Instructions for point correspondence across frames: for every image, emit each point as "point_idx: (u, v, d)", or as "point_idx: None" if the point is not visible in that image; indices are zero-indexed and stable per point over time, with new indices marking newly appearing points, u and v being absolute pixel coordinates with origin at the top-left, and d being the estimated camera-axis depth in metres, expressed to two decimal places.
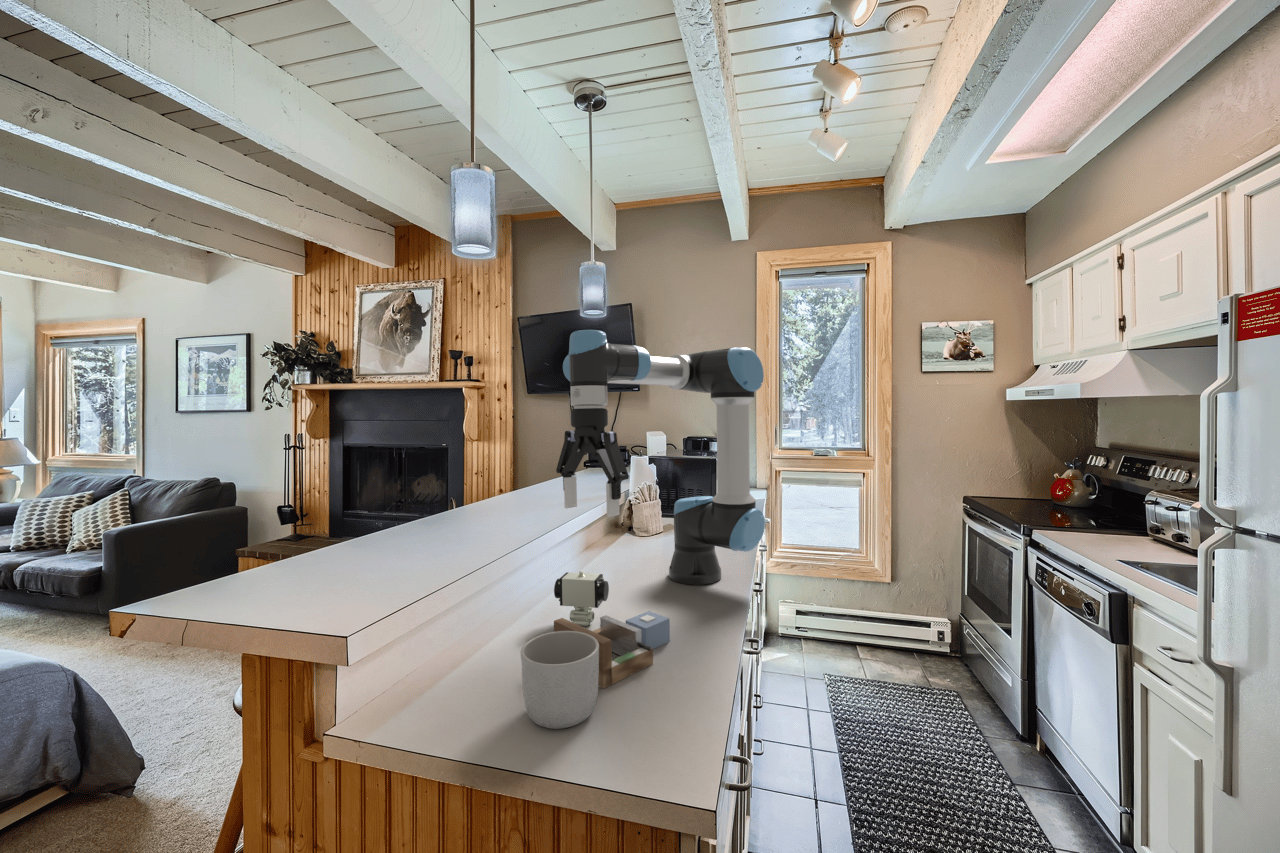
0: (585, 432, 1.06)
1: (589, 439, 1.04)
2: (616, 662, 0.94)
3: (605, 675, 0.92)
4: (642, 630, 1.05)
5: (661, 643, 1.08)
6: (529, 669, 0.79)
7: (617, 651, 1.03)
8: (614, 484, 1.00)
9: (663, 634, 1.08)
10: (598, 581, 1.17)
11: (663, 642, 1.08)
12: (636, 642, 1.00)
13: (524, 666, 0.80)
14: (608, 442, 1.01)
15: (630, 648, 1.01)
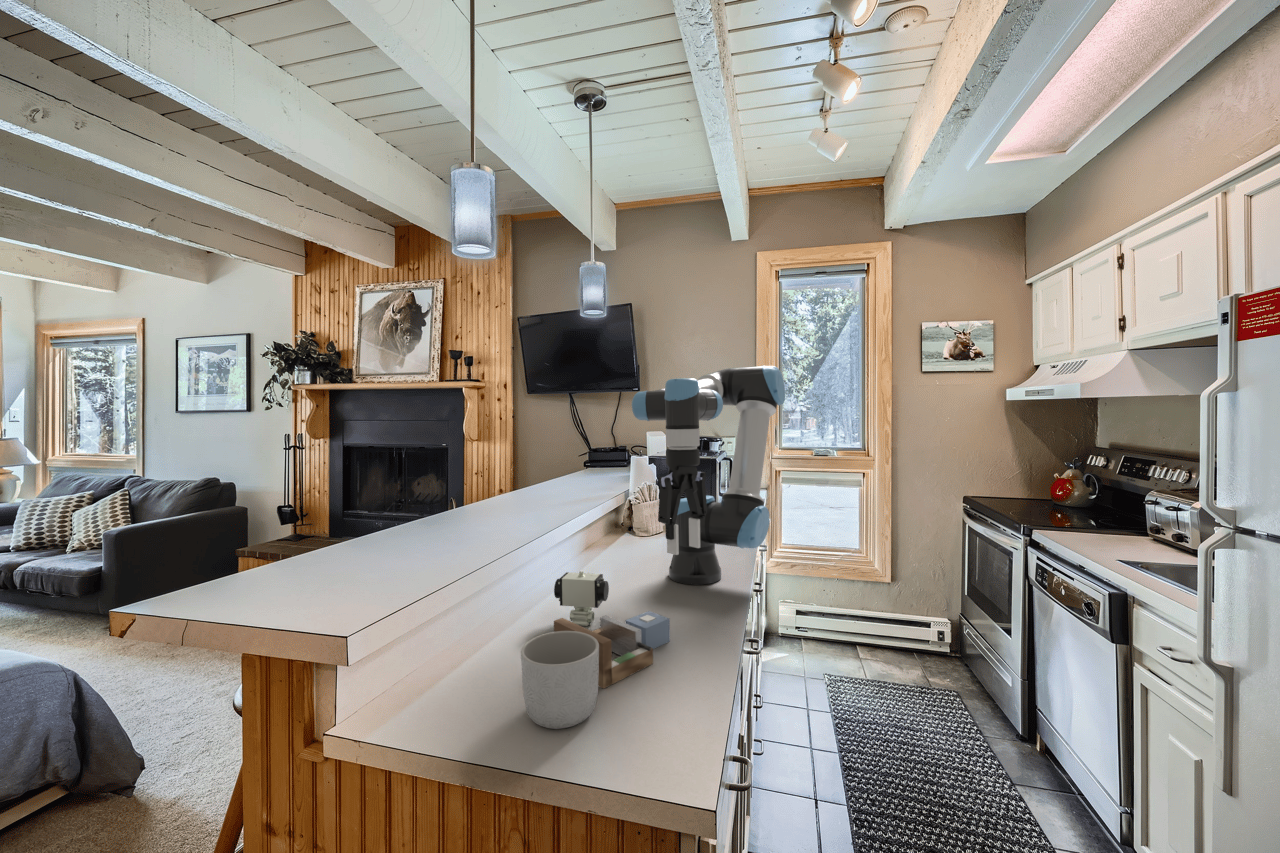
0: None
1: None
2: (616, 662, 0.94)
3: (605, 675, 0.92)
4: (642, 630, 1.05)
5: (661, 643, 1.08)
6: (529, 669, 0.79)
7: (617, 651, 1.03)
8: None
9: (663, 634, 1.08)
10: (598, 581, 1.17)
11: (663, 642, 1.08)
12: (636, 642, 1.00)
13: (525, 666, 0.80)
14: (660, 487, 1.13)
15: (630, 648, 1.01)
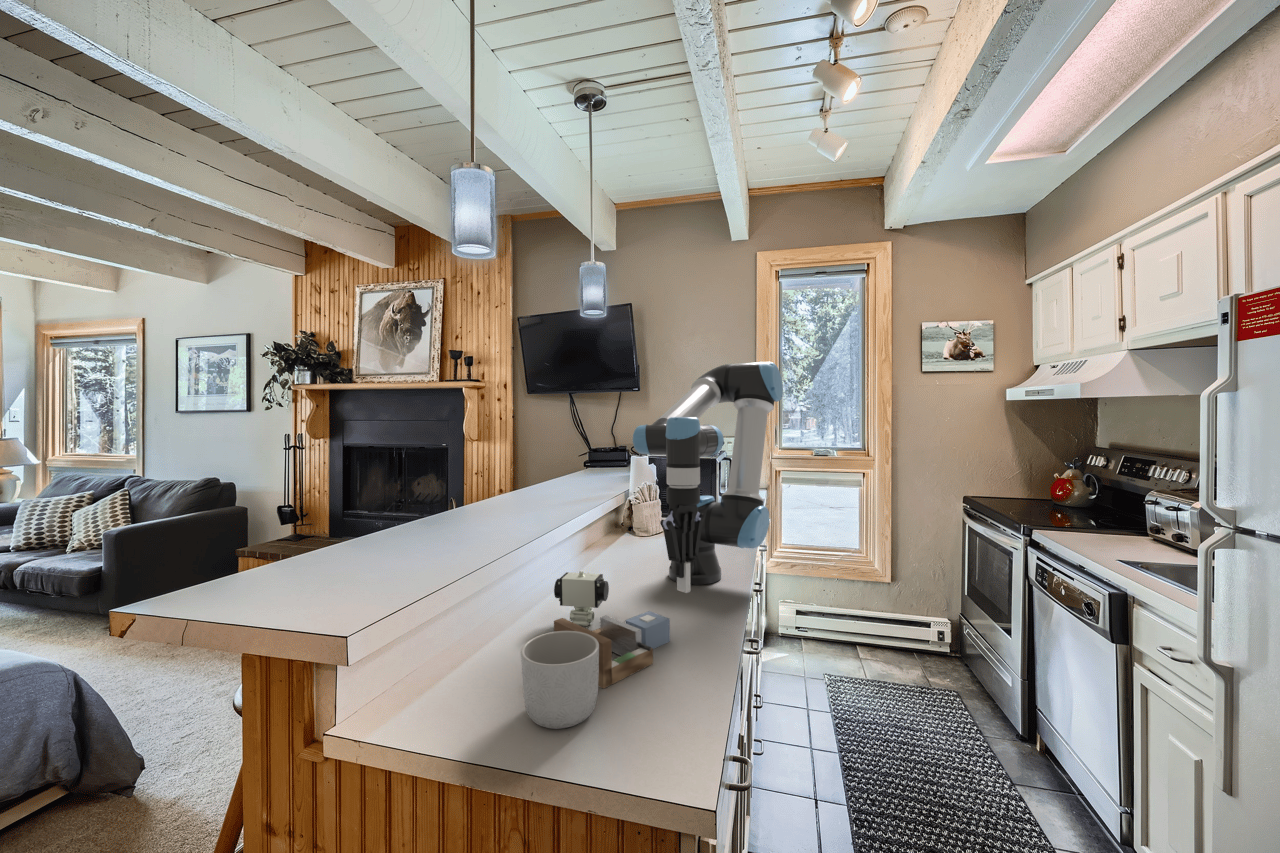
0: None
1: None
2: (616, 662, 0.94)
3: (605, 675, 0.92)
4: (642, 630, 1.05)
5: (661, 643, 1.08)
6: (529, 669, 0.79)
7: (617, 651, 1.03)
8: None
9: (663, 634, 1.08)
10: (598, 581, 1.17)
11: (663, 642, 1.08)
12: (636, 642, 1.00)
13: (525, 666, 0.80)
14: (663, 529, 1.14)
15: (630, 648, 1.01)
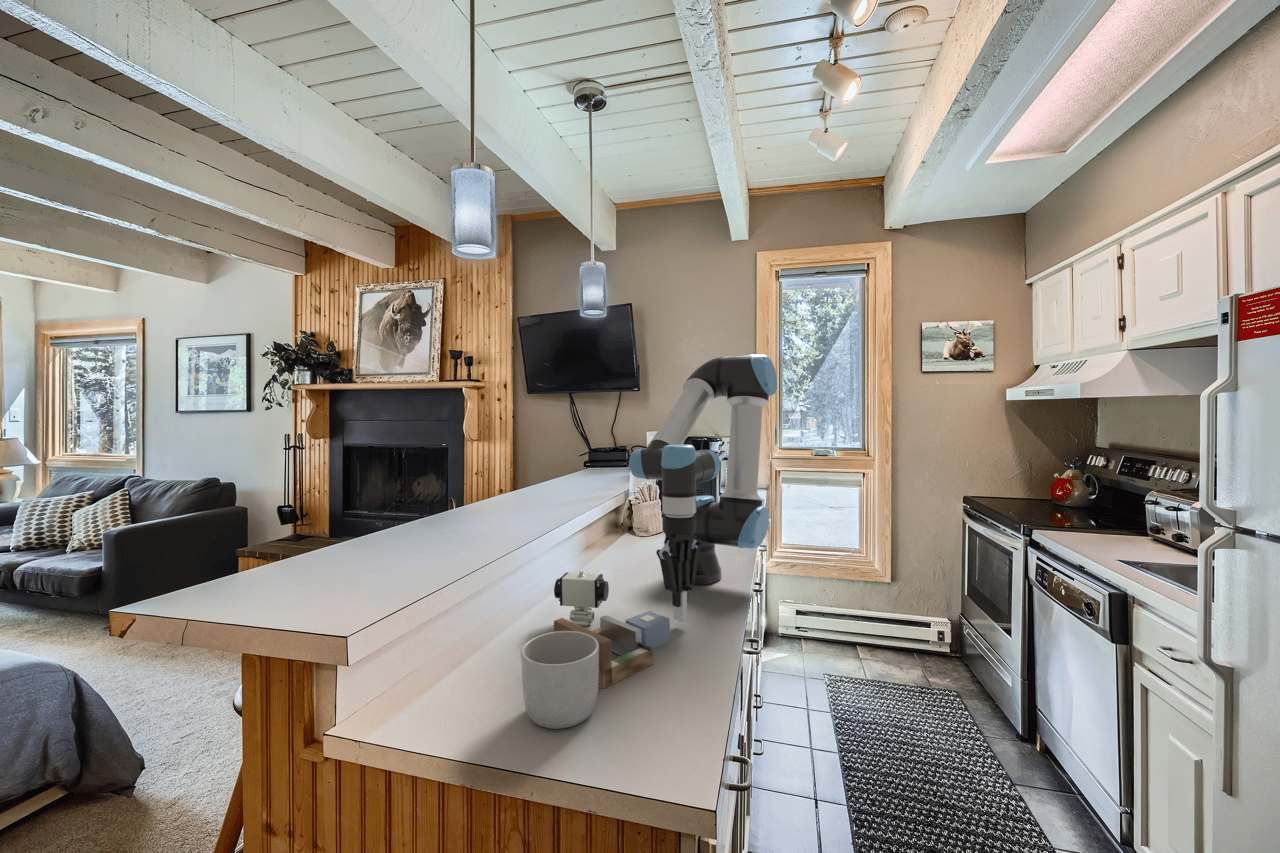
0: None
1: None
2: (616, 662, 0.94)
3: (605, 675, 0.92)
4: (641, 630, 1.05)
5: (661, 643, 1.08)
6: (529, 669, 0.79)
7: (617, 651, 1.03)
8: None
9: (663, 634, 1.08)
10: (598, 581, 1.17)
11: (663, 642, 1.08)
12: (636, 642, 1.00)
13: (525, 666, 0.80)
14: (660, 559, 1.13)
15: (630, 648, 1.01)
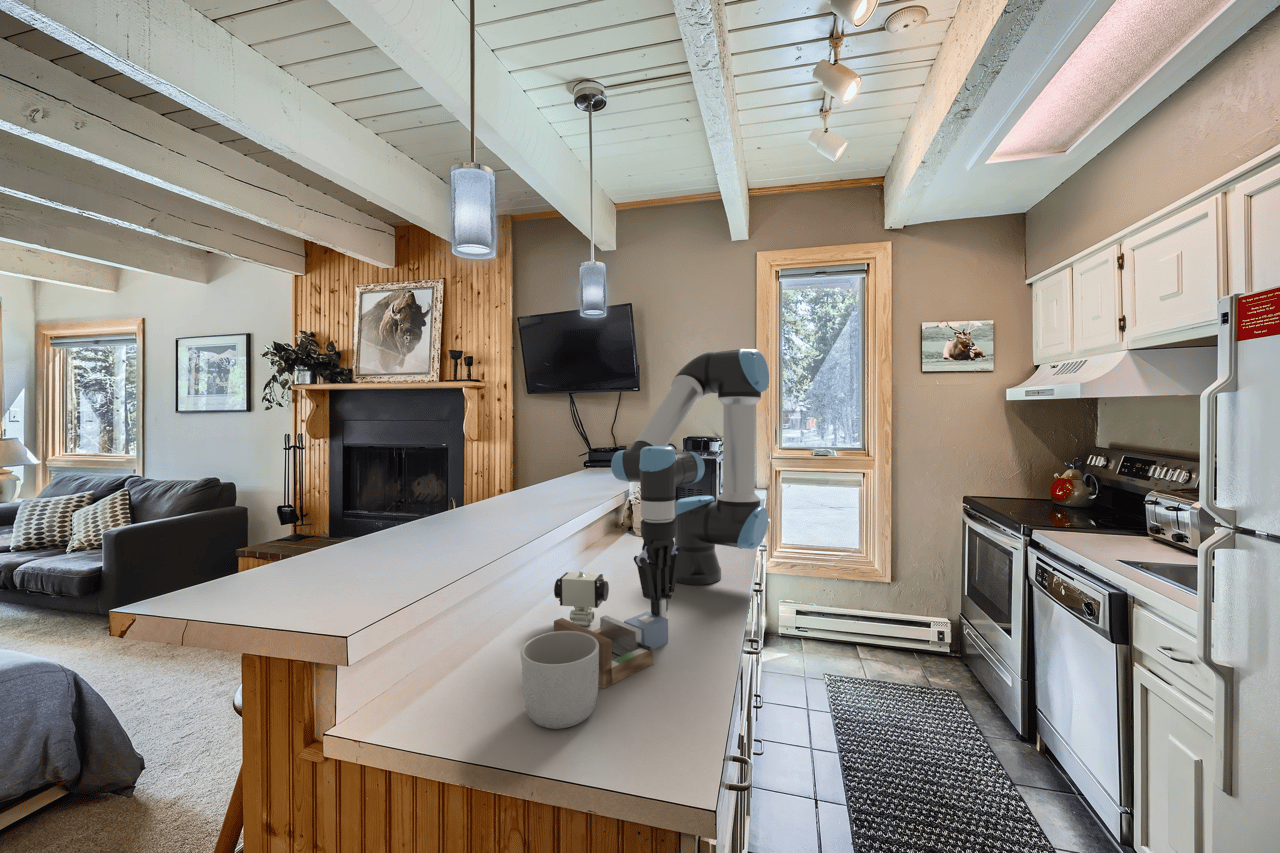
0: None
1: None
2: (616, 662, 0.94)
3: (605, 675, 0.92)
4: None
5: (659, 644, 1.07)
6: (529, 669, 0.79)
7: (617, 651, 1.03)
8: None
9: (662, 635, 1.08)
10: (598, 581, 1.17)
11: (661, 643, 1.08)
12: (636, 642, 1.00)
13: (525, 666, 0.80)
14: (637, 565, 1.08)
15: (630, 648, 1.01)
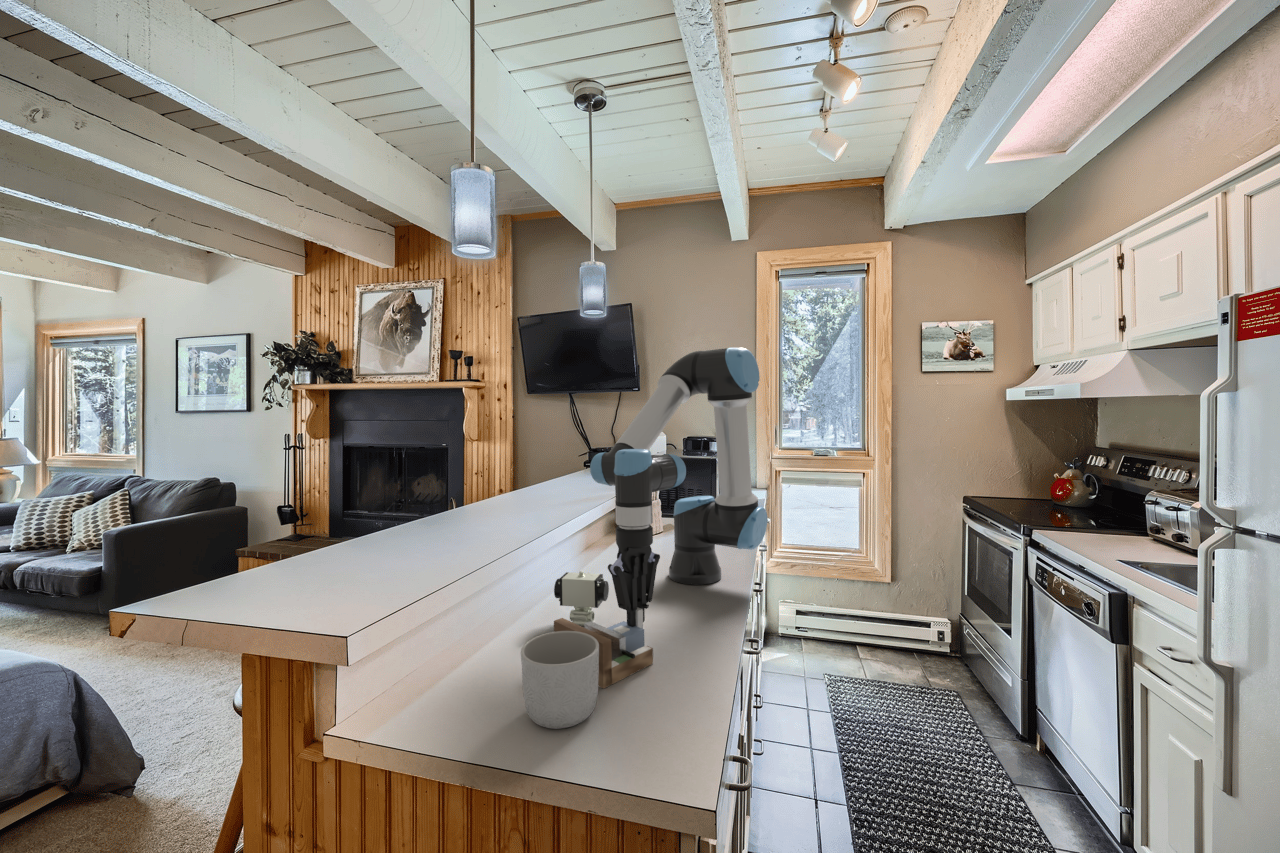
0: None
1: None
2: (616, 662, 0.94)
3: (605, 675, 0.92)
4: None
5: None
6: (529, 669, 0.79)
7: None
8: None
9: (637, 646, 1.03)
10: (598, 581, 1.17)
11: None
12: (620, 649, 0.97)
13: (525, 666, 0.80)
14: (612, 574, 1.03)
15: (614, 655, 0.98)
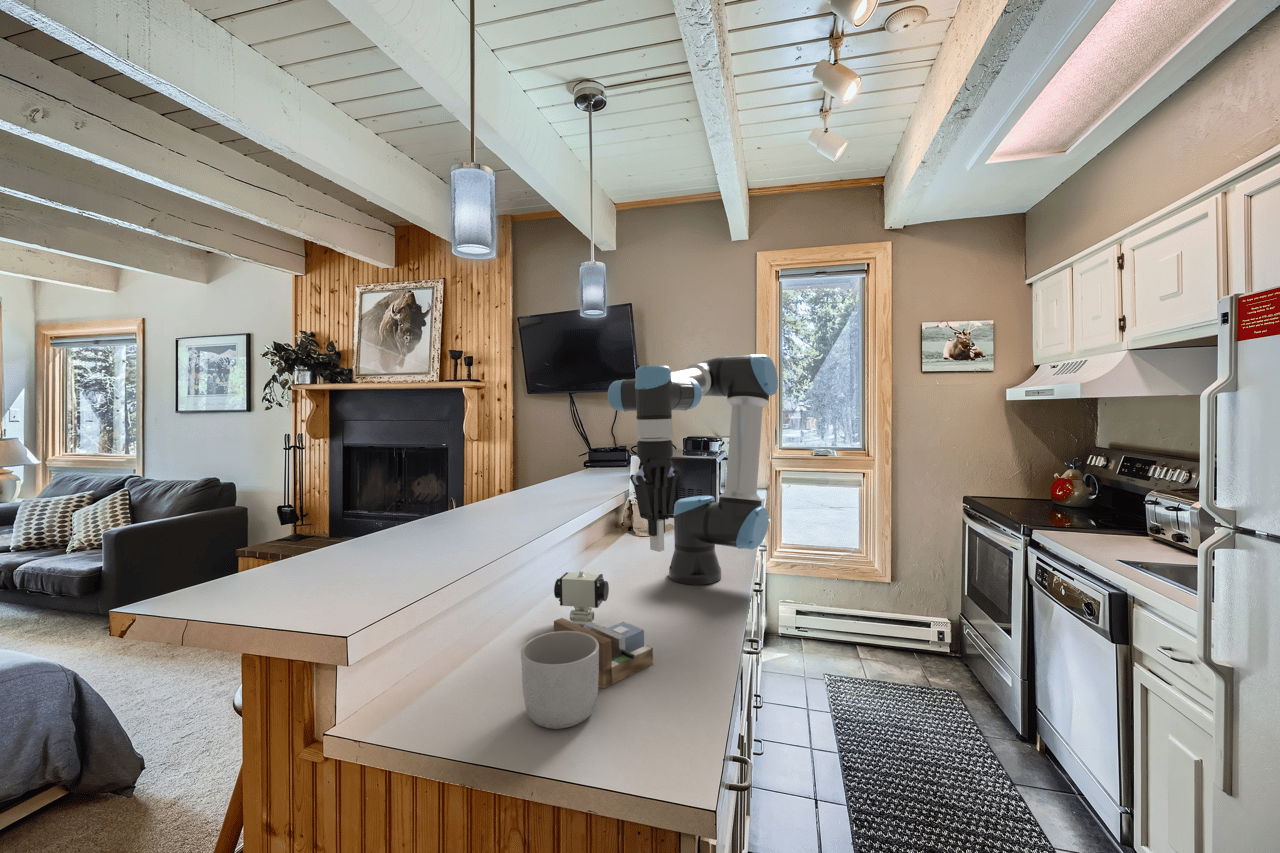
0: None
1: None
2: (616, 662, 0.94)
3: (605, 675, 0.92)
4: None
5: None
6: (529, 669, 0.79)
7: None
8: None
9: (637, 647, 1.03)
10: (598, 581, 1.17)
11: None
12: (619, 650, 0.97)
13: (524, 666, 0.80)
14: (634, 484, 1.08)
15: (613, 656, 0.98)
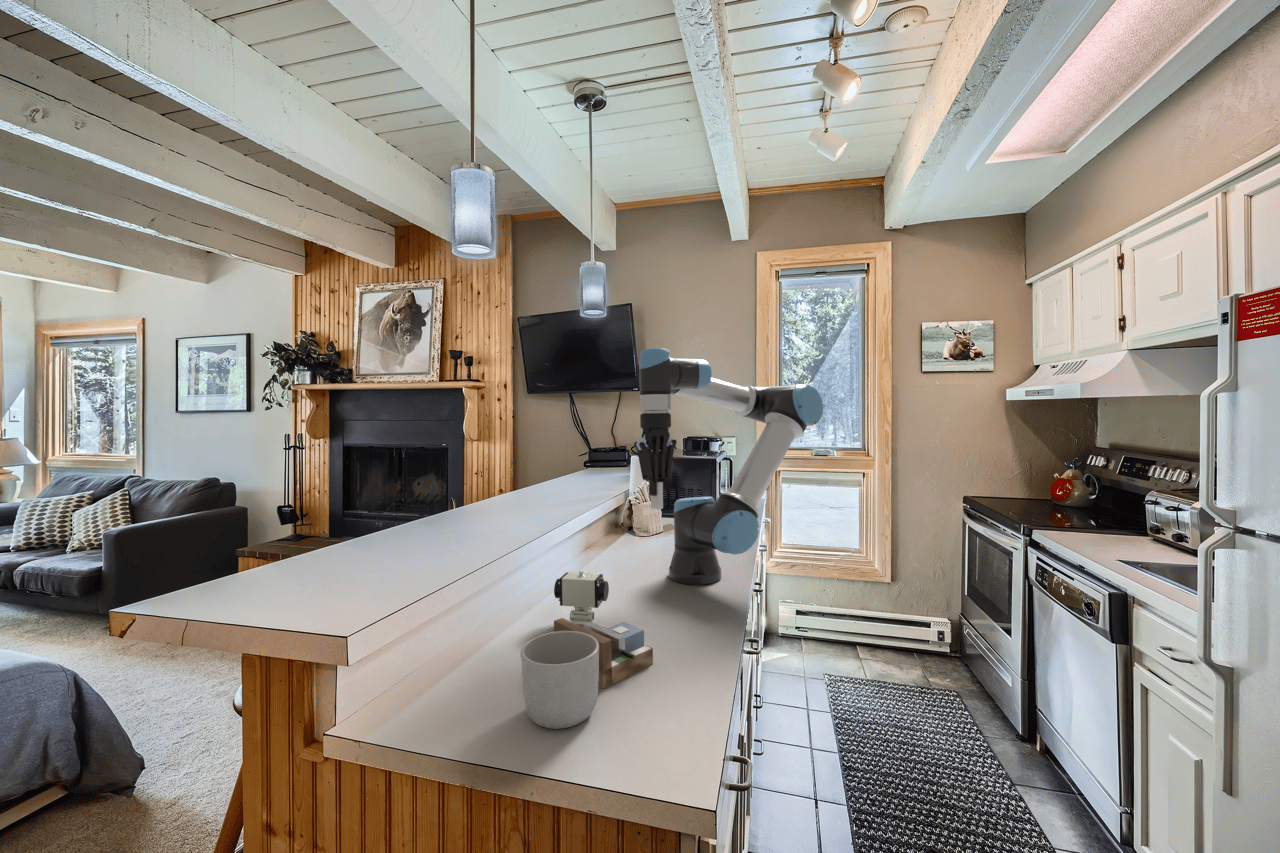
0: None
1: None
2: (616, 662, 0.94)
3: (605, 675, 0.92)
4: None
5: None
6: (529, 669, 0.79)
7: None
8: None
9: (637, 647, 1.03)
10: (598, 581, 1.17)
11: None
12: (619, 650, 0.97)
13: (525, 666, 0.80)
14: (637, 450, 1.25)
15: (613, 656, 0.98)
